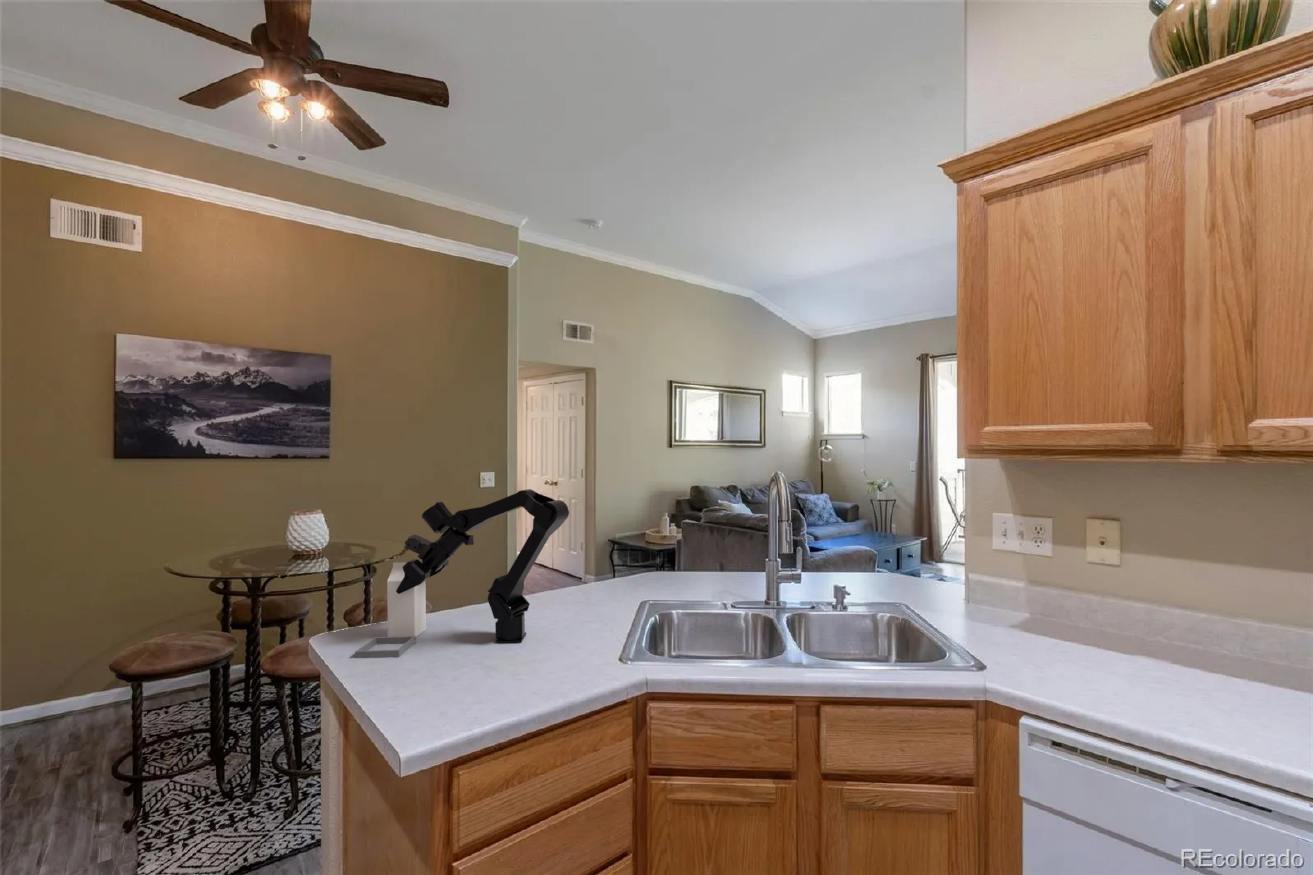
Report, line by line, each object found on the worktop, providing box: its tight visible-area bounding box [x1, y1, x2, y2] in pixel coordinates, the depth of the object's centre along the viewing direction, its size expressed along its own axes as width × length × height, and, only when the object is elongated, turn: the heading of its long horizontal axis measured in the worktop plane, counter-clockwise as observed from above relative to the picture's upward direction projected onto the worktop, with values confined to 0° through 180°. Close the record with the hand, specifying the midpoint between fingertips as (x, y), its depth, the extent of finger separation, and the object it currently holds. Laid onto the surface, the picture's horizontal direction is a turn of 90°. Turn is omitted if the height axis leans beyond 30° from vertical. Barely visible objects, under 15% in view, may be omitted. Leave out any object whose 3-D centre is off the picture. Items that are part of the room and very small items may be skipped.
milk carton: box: [386, 561, 427, 638], centre depth 153 cm, size 7×7×19 cm
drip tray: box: [354, 636, 417, 659], centre depth 141 cm, size 10×10×2 cm
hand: (404, 588), depth 153 cm, fingers open, 9 cm apart
